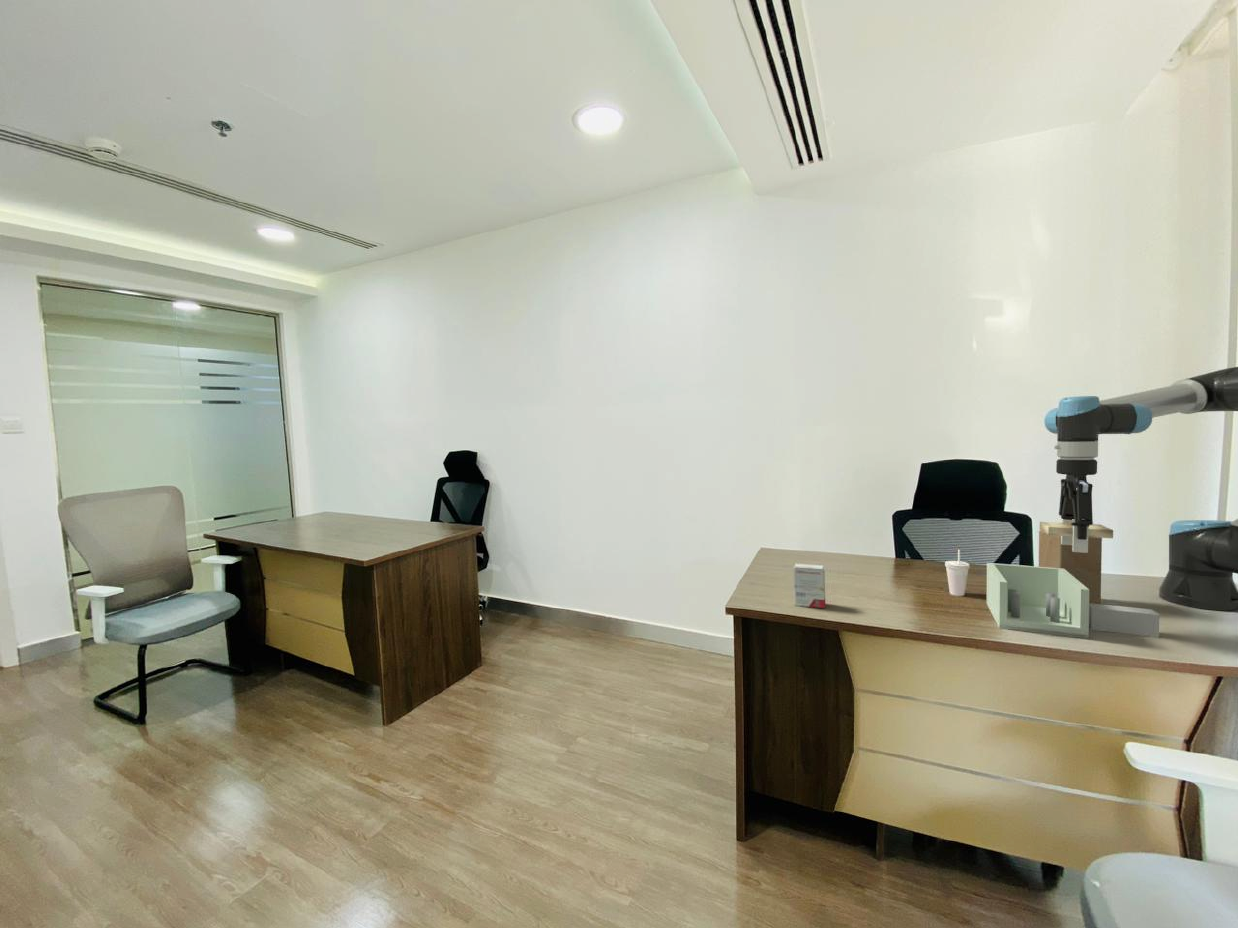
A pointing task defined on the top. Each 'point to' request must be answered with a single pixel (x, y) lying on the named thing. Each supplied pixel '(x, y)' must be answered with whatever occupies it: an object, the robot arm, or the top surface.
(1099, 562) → the wooden block
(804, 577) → the ink box
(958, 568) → the smoothie
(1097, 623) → the block
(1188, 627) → the top surface
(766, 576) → the top surface
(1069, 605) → the light green open box
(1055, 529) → the shelf board
